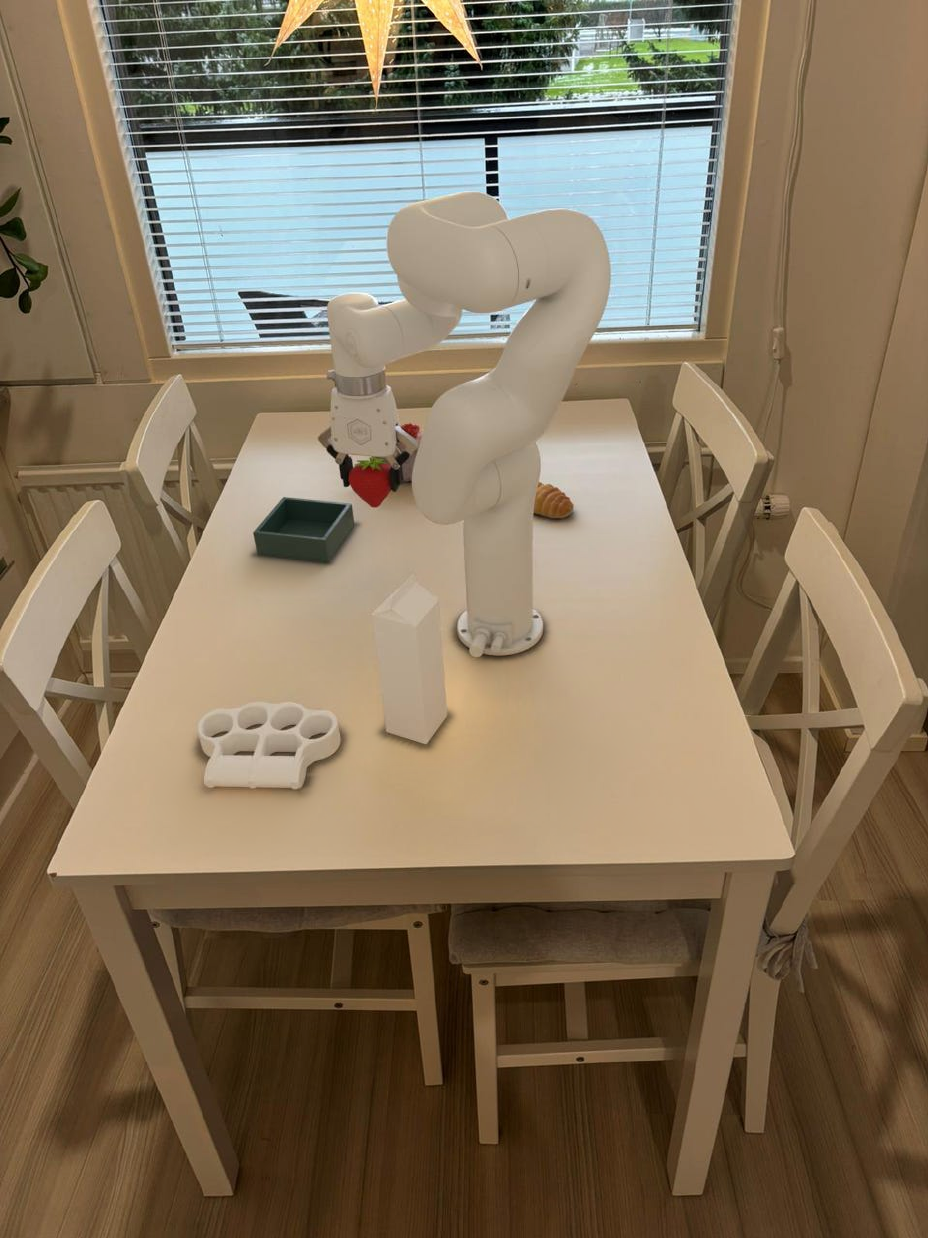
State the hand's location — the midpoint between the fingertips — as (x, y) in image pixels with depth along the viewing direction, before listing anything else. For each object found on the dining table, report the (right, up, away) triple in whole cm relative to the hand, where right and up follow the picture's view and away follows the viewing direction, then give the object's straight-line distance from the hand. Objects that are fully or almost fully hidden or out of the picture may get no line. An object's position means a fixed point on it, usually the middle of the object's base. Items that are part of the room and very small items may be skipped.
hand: (372, 484), depth 149 cm
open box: (-12, -8, +11) cm, 18 cm away
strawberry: (0, -3, +3) cm, 4 cm away
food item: (+5, +6, +29) cm, 30 cm away
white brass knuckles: (-10, -39, -31) cm, 51 cm away
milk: (+9, -35, -28) cm, 46 cm away
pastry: (+30, -2, +16) cm, 34 cm away
